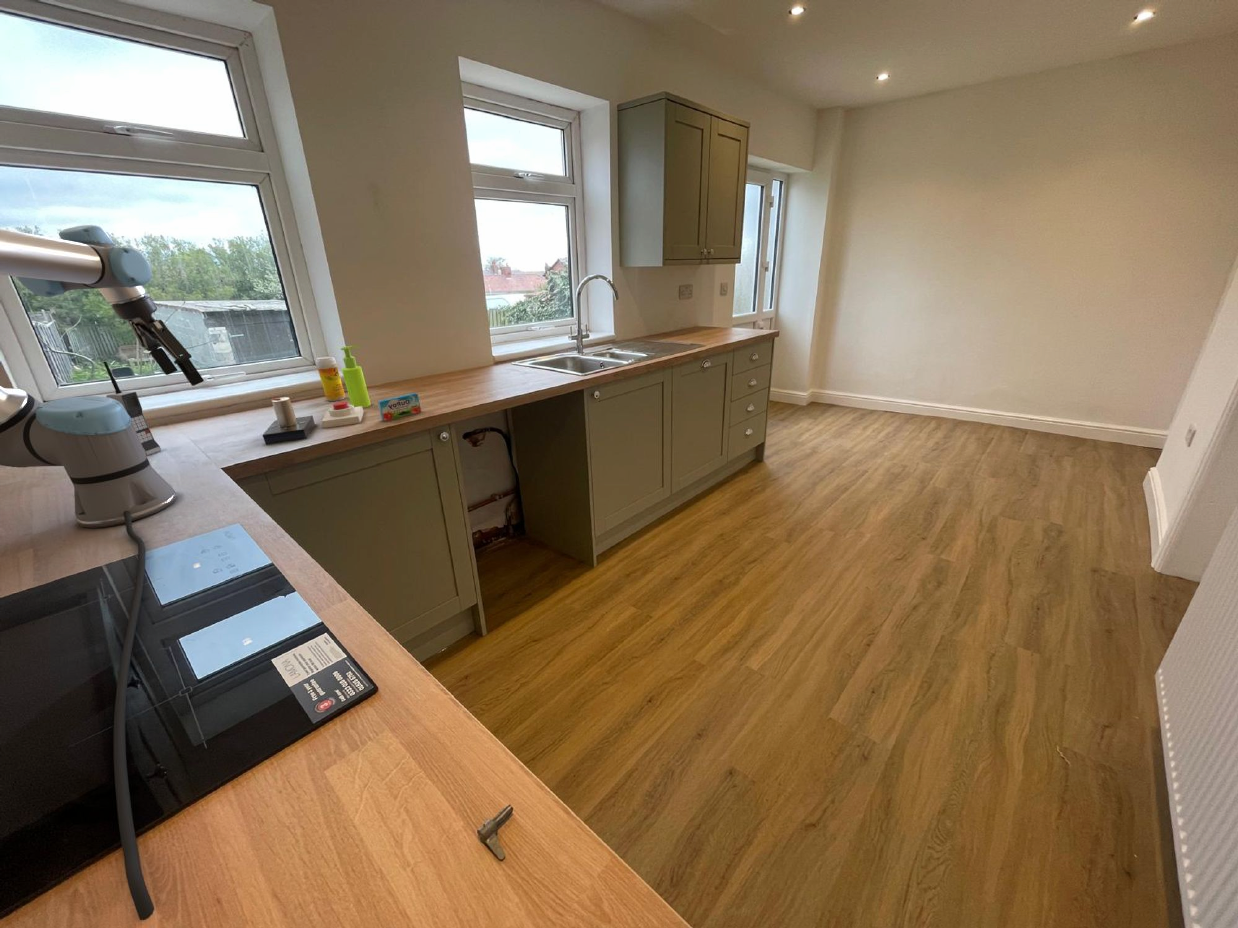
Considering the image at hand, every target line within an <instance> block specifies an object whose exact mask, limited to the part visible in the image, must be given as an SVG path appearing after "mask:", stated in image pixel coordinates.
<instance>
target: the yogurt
mask: <svg viewBox="0 0 1238 928" xmlns="http://www.w3.org/2000/svg"><path fill="white" fill-rule="evenodd" d="M377 406H378V409H379V414H380V418H381V421H383V422H388V421H392V420H395V419H399V418H403V417H408V416H410V415H415V414H420V413H422V408H421V402H420V399H419V394H418V393H416V392H412V393H408V394H404V395H399V396H396V397H395V396H394V397H391V398H387V399H382V400H378V401H377Z"/></svg>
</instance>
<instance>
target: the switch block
mask: <svg viewBox="0 0 1238 928" xmlns="http://www.w3.org/2000/svg"><path fill="white" fill-rule="evenodd" d="M348 407H349V408H346V409H342V410H334V407H333V406H332V407H330V408H328V410H327V411H326V412H325V414H324V417H323V418H322V420H321V424H322V427H323V429H327V428H333V427H338V426H339V427H340V426H349V425H354V424H355V425H356V424H361V421H362V419H363V415H364V408H362V406H359V407H354V405H351V404H348Z"/></svg>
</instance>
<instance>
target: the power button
mask: <svg viewBox="0 0 1238 928" xmlns="http://www.w3.org/2000/svg"><path fill="white" fill-rule="evenodd" d="M348 405H349V403H348V402H347V401H339V402H338V401H337V402H335V403H332V407H334V410H342V409H346V408H349V407H348Z"/></svg>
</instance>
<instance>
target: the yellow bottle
mask: <svg viewBox="0 0 1238 928" xmlns="http://www.w3.org/2000/svg"><path fill="white" fill-rule="evenodd" d="M315 365H316V367H317V371H318V375H319V378H320V381H321V386H322V389H323V392H324V395H325V399H326V400H328V402H338V401H342V400H344V399H345V397H346V393H345V389H344V386H343V382H342V379H341V375H340V371H339V367H338V364H337V361H336V358H335V357H334V356H333V355H326V356H320V357H316V360H315Z"/></svg>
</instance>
